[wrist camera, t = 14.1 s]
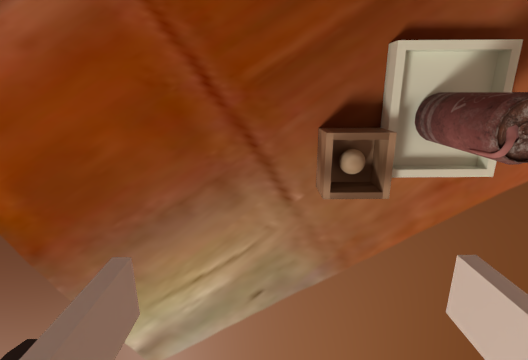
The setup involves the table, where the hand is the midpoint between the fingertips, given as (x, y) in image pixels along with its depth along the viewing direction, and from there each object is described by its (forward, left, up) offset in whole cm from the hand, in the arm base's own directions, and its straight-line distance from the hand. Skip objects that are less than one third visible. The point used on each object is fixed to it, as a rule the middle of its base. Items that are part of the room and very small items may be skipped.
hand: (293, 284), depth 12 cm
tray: (-5, +21, -29) cm, 36 cm away
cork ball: (+1, +10, -28) cm, 30 cm away
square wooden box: (+1, +10, -29) cm, 30 cm away
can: (-4, +21, -28) cm, 35 cm away
